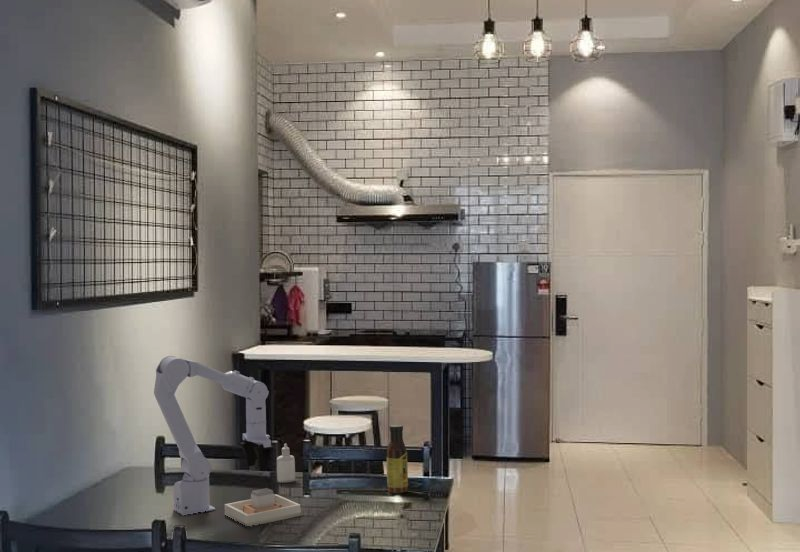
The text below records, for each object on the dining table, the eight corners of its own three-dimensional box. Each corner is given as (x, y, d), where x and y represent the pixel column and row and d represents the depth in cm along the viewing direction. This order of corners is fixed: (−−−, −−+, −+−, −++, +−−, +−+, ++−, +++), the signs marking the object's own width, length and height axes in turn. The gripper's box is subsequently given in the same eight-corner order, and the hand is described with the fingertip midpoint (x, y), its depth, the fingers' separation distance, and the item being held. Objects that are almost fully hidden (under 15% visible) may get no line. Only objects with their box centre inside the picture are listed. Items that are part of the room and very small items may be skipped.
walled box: (247, 527, 219) (246, 515, 219) (224, 515, 231) (224, 504, 231) (300, 515, 229) (300, 504, 229) (276, 504, 240) (276, 494, 240)
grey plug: (257, 515, 227) (257, 493, 227) (251, 512, 230) (250, 490, 230) (274, 512, 230) (273, 490, 230) (267, 509, 233) (267, 487, 233)
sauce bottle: (407, 494, 248) (406, 427, 248) (386, 494, 249) (385, 427, 248) (408, 488, 255) (406, 423, 255) (387, 488, 255) (386, 423, 255)
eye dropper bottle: (291, 483, 264) (290, 445, 264) (275, 482, 265) (274, 444, 265) (297, 480, 268) (296, 442, 268) (280, 479, 270) (280, 442, 269)
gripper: (280, 423, 242) (280, 470, 242) (257, 416, 253) (258, 461, 254) (257, 426, 238) (258, 474, 238) (235, 419, 249) (236, 465, 249)
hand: (257, 468), depth 245 cm, fingers open, 7 cm apart
